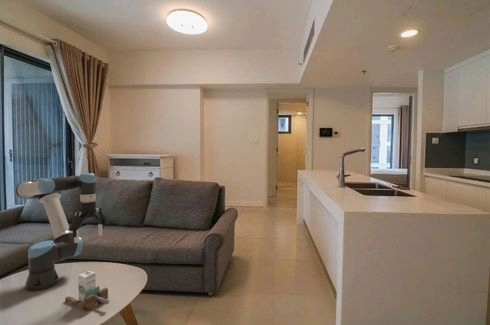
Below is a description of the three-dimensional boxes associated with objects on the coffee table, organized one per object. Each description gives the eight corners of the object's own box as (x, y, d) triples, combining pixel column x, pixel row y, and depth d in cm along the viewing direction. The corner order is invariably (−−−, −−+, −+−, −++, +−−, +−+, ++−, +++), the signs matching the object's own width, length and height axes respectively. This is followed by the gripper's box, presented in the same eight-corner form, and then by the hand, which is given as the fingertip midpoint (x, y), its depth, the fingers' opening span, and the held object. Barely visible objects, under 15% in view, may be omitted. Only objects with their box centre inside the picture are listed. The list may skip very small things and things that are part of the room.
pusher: (84, 305, 132) (84, 291, 132) (98, 298, 138) (98, 285, 138) (101, 313, 126) (100, 298, 126) (114, 305, 132) (114, 291, 132)
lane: (65, 301, 136) (64, 289, 136) (86, 291, 146) (86, 280, 146) (86, 311, 128) (86, 299, 128) (108, 299, 138) (107, 288, 137)
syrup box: (96, 299, 138) (96, 272, 137) (85, 305, 132) (84, 277, 132) (89, 297, 140) (89, 269, 139) (78, 302, 135) (77, 274, 134)
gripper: (68, 206, 137) (69, 247, 138) (112, 198, 159) (113, 233, 160) (60, 204, 140) (61, 244, 141) (104, 197, 162) (105, 231, 163)
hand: (89, 238), depth 151 cm, fingers open, 13 cm apart
